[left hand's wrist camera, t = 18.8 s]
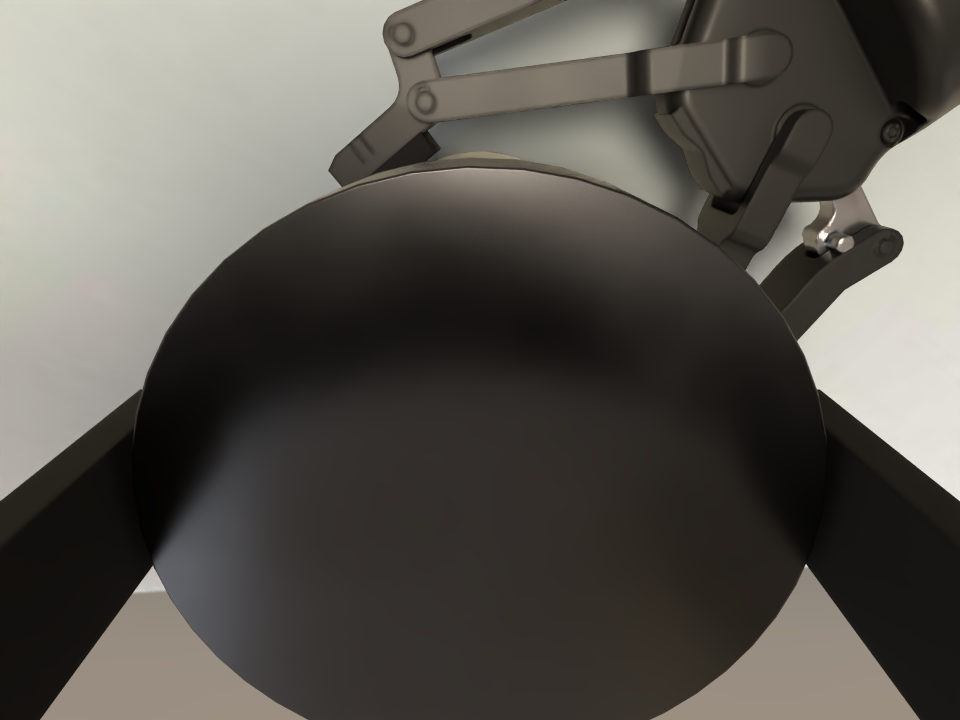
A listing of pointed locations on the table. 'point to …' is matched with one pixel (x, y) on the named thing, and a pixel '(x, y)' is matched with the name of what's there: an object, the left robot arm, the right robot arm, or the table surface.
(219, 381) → the lid
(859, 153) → the right robot arm
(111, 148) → the table surface
